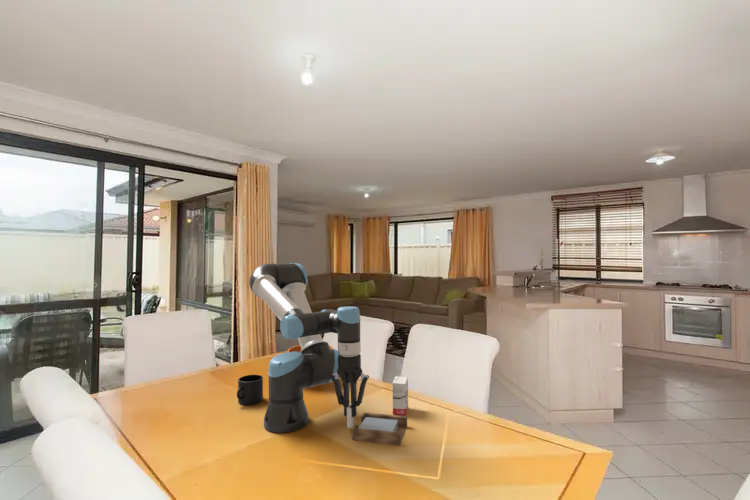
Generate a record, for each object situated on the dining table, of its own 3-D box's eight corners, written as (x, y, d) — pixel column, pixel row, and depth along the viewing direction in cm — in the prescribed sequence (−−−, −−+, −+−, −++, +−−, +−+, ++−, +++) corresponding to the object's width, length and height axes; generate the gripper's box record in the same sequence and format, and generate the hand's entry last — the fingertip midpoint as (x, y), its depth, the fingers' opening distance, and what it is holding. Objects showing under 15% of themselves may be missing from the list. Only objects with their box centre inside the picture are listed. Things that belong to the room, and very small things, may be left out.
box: (352, 441, 117) (352, 429, 117) (364, 423, 130) (364, 412, 130) (400, 447, 114) (400, 434, 114) (407, 427, 126) (407, 416, 126)
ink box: (405, 417, 135) (405, 384, 135) (392, 416, 136) (391, 383, 136) (408, 407, 143) (408, 376, 143) (395, 406, 144) (395, 375, 144)
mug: (228, 405, 147) (227, 382, 147) (250, 395, 158) (249, 373, 158) (246, 409, 143) (246, 385, 143) (267, 398, 154) (267, 376, 154)
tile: (358, 437, 119) (358, 428, 119) (365, 424, 128) (365, 416, 128) (392, 441, 116) (392, 432, 116) (397, 427, 125) (397, 420, 125)
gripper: (326, 356, 123) (327, 429, 122) (365, 357, 119) (366, 433, 119) (334, 350, 130) (336, 419, 129) (371, 352, 127) (372, 423, 126)
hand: (350, 426), depth 124 cm, fingers closed
